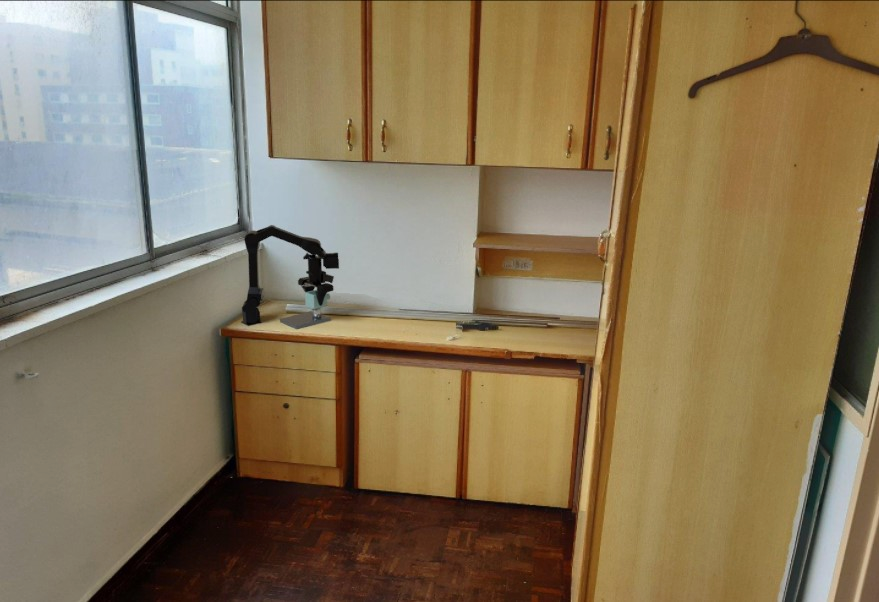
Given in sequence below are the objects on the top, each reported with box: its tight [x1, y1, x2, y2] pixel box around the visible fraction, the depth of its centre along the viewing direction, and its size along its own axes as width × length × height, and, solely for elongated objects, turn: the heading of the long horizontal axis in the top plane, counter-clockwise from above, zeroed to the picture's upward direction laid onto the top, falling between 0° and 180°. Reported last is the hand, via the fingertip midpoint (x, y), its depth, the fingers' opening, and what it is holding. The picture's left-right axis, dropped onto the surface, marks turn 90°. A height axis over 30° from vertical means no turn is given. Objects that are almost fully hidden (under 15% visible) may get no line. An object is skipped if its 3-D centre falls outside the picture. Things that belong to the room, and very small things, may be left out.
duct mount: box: [279, 307, 331, 330], centre depth 279 cm, size 17×13×6 cm
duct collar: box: [304, 289, 331, 309], centre depth 280 cm, size 7×10×6 cm
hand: (316, 303), depth 279 cm, fingers closed on duct collar, 7 cm apart
